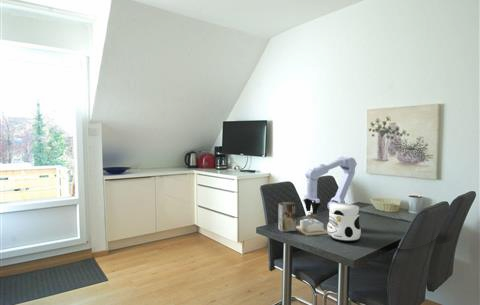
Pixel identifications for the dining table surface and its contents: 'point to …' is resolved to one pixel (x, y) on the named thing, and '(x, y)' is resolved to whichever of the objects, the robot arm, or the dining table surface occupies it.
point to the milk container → (344, 222)
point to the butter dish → (311, 228)
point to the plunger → (311, 219)
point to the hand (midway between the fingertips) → (311, 212)
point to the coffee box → (287, 216)
